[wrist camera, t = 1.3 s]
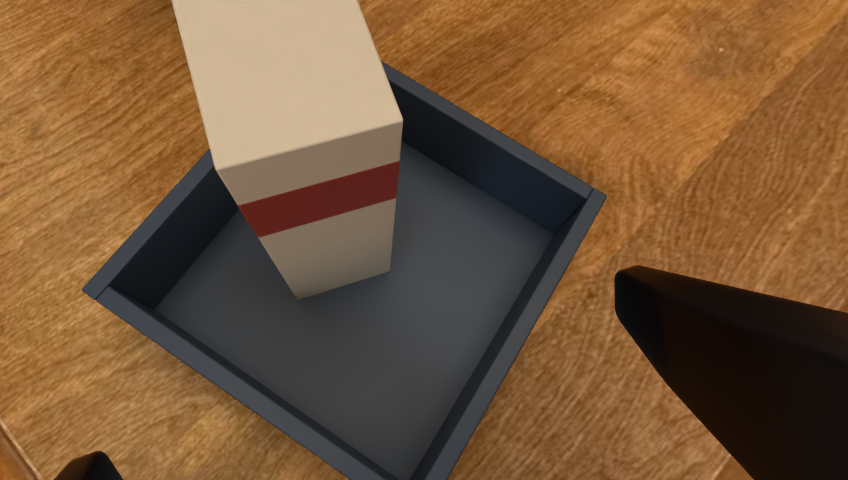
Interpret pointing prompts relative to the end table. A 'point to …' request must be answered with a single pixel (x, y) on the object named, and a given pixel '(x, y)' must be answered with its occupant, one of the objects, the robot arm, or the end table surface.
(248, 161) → the plate
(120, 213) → the end table surface
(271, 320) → the box
